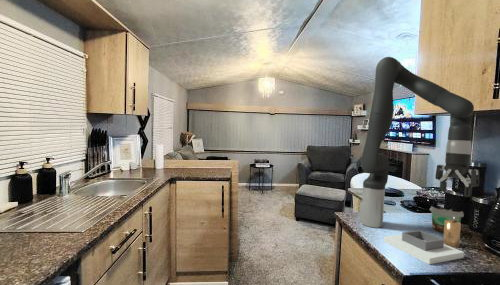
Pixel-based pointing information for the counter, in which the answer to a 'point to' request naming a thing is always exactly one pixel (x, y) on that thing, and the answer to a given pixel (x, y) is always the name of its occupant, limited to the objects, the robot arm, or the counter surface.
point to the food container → (443, 217)
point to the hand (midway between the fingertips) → (454, 193)
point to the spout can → (452, 232)
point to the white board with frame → (424, 246)
